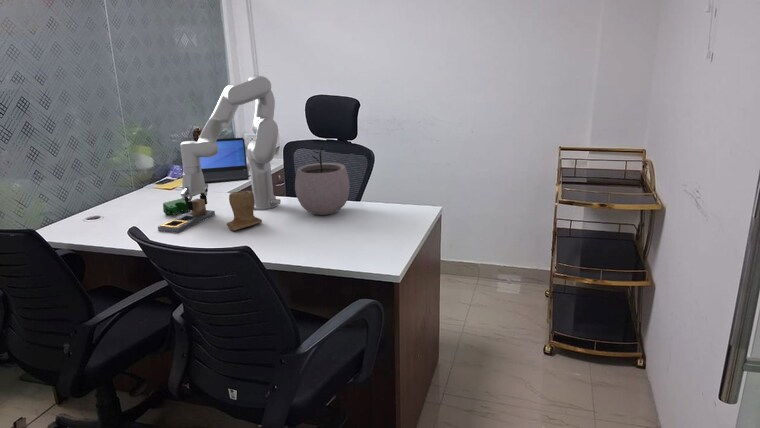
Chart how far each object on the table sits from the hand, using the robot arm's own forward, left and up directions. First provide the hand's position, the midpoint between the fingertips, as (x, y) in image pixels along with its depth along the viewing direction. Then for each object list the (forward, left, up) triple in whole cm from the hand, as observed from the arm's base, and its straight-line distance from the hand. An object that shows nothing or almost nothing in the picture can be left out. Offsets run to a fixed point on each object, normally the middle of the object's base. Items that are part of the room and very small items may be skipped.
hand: (197, 207), depth 241 cm
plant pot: (-53, -19, -5) cm, 57 cm away
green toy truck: (+14, -4, -5) cm, 15 cm away
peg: (0, 0, -5) cm, 5 cm away
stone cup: (-27, +6, -5) cm, 28 cm away
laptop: (+42, -73, -5) cm, 85 cm away
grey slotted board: (0, +8, -5) cm, 9 cm away
